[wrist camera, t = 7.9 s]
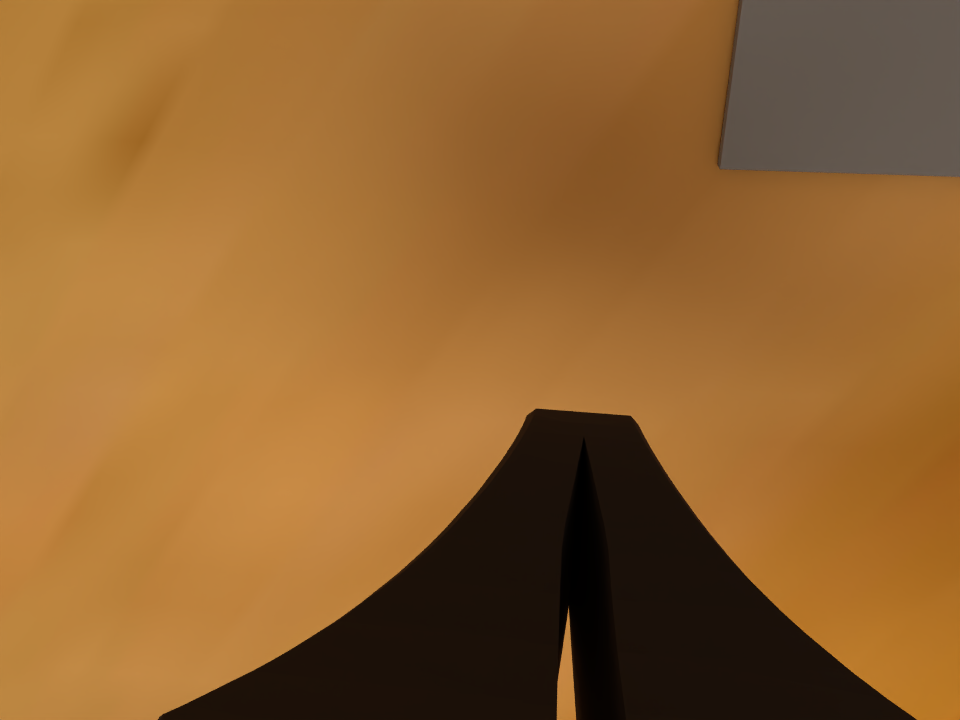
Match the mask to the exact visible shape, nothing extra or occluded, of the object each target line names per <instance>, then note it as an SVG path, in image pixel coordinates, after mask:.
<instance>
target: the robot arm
mask: <svg viewBox="0 0 960 720" xmlns="http://www.w3.org/2000/svg"><path fill="white" fill-rule="evenodd" d="M568 608H569V616H570V632H571V648H572V663H573V678H574V692H575V707H576V720H917V719H915V718H914V717H912V716H911V715H909V714H908V713H907V712H905V711H904V710H902V709H901V708H899V707H898V706H897V705H895V704H894V703H892V702H891V701H890V700H888V699H887V698H885V697H884V696H883V695H881V694H880V693H879V692H878V691H876V690H875V689H874V688H872V687H871V686H870V685H868V684H867V683H866V682H864V681H863V680H862V679H860V678H859V677H858V676H856V675H855V674H854V673H853V672H851V671H850V670H849V669H848V668H846V667H845V666H844V665H843V664H842V663H840V662H839V661H838V660H837V659H836V658H834V657H833V656H832V655H831V654H830V653H828V652H827V651H826V650H825V649H824V648H822V647H821V646H820V645H819V644H818V643H816V642H815V641H814V640H813V639H812V638H810V637H809V636H808V635H807V634H806V633H805V632H803V631H802V630H801V629H800V628H799V627H798V626H797V625H796V624H795V623H793V622H792V621H791V620H790V619H789V618H788V617H787V616H786V615H785V614H784V613H782V612H781V611H780V610H779V609H778V608H777V607H776V606H775V605H774V604H773V603H772V602H771V601H770V600H769V599H768V598H767V597H766V596H765V595H764V594H763V593H762V592H761V591H760V590H759V589H758V588H757V587H756V586H755V585H754V584H753V583H752V582H751V581H750V580H749V579H748V578H747V577H746V576H745V574H744V573H743V572H742V571H741V570H740V569H739V568H738V567H737V565H736V564H735V563H734V562H733V561H732V560H731V559H730V557H729V556H728V555H727V554H726V553H725V551H724V550H723V549H722V548H721V547H720V545H719V544H718V543H717V542H716V541H715V539H714V538H713V537H712V536H711V535H710V533H709V532H708V531H707V529H706V528H705V527H704V526H703V524H702V523H701V522H700V520H699V519H698V518H697V516H696V515H695V514H694V512H693V511H692V509H691V508H690V507H689V505H688V504H687V502H686V501H685V500H684V498H683V497H682V495H681V494H680V493H679V491H678V490H677V488H676V487H675V486H674V484H673V483H672V481H671V480H670V478H669V477H668V475H667V474H666V472H665V470H664V469H663V467H662V466H661V464H660V462H659V461H658V459H657V458H656V456H655V454H654V453H653V451H652V449H651V448H650V446H649V444H648V442H647V440H646V439H645V437H644V435H643V433H642V431H641V429H640V427H639V425H638V424H637V423H636V421H635V420H634V419H633V418H632V417H631V416H626V415H613V414H600V413H587V412H574V411H560V410H547V409H535V410H534V411H532V412H531V413H530V414H528V415H527V417H526V419H525V422H524V424H523V426H522V428H521V430H520V432H519V434H518V435H517V437H516V439H515V440H514V442H513V444H512V445H511V447H510V448H509V450H508V451H507V453H506V454H505V456H504V457H503V459H502V460H501V462H500V463H499V464H498V466H497V467H496V468H495V470H494V471H493V472H492V474H491V475H490V476H489V478H488V479H487V480H486V482H485V483H484V484H483V486H482V487H481V488H480V490H479V491H478V492H477V493H476V495H475V496H474V497H473V498H472V499H471V500H470V501H469V503H468V504H467V505H466V506H465V507H464V508H463V509H462V510H461V512H460V513H459V514H458V515H457V516H456V517H455V518H454V519H453V521H452V522H451V523H450V524H449V525H448V526H447V527H446V528H445V529H444V531H443V532H442V533H441V534H440V535H439V536H438V537H437V538H436V539H435V540H434V541H433V542H432V543H431V544H430V545H429V546H428V547H427V548H425V549H424V550H423V551H422V552H421V553H420V554H419V555H418V556H417V557H416V558H415V559H414V560H412V561H411V562H410V563H409V564H408V565H407V566H406V567H405V568H404V569H402V570H401V571H400V572H399V573H398V574H397V575H396V576H394V577H393V578H392V579H391V580H389V581H388V582H387V583H385V584H384V585H383V586H382V587H380V588H379V589H378V590H377V591H375V592H374V593H373V594H372V595H370V596H369V597H368V598H367V599H365V600H364V601H363V602H362V603H360V604H359V605H358V606H356V607H355V608H353V609H352V610H351V611H349V612H348V613H347V614H345V615H344V616H342V617H341V618H340V619H338V620H337V621H335V622H334V623H332V624H331V625H329V626H328V627H326V628H324V629H323V630H321V631H320V632H318V633H316V634H315V635H313V636H312V637H310V638H309V639H307V640H305V641H304V642H302V643H301V644H299V645H297V646H296V647H294V648H293V649H291V650H289V651H288V652H286V653H284V654H282V655H281V656H279V657H277V658H276V659H274V660H272V661H270V662H268V663H266V664H265V665H263V666H261V667H259V668H257V669H256V670H254V671H252V672H250V673H248V674H246V675H244V676H242V677H240V678H238V679H236V680H233V681H231V682H229V683H227V684H225V685H223V686H221V687H219V688H217V689H215V690H213V691H211V692H209V693H207V694H205V695H203V696H201V697H199V698H197V699H195V700H193V701H191V702H189V703H187V704H185V705H183V706H180V707H178V708H176V709H174V710H172V711H169V712H167V713H165V714H163V715H161V716H160V717H159V719H158V720H557V681H558V674H559V668H560V661H561V654H562V648H563V641H564V634H565V628H566V621H567V614H568Z"/></svg>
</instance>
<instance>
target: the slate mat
mask: <svg viewBox="0 0 960 720" xmlns="http://www.w3.org/2000/svg"><path fill="white" fill-rule="evenodd" d="M718 166H719V168H720V169H732V170H763V171H794V172H826V173H857V174H888V175H920V176H951V177H960V0H739V7H738V14H737V22H736V30H735V37H734V45H733V52H732V60H731V67H730V75H729V82H728V90H727V98H726V105H725V113H724V120H723V128H722V135H721V143H720V151H719V158H718Z"/></svg>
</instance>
